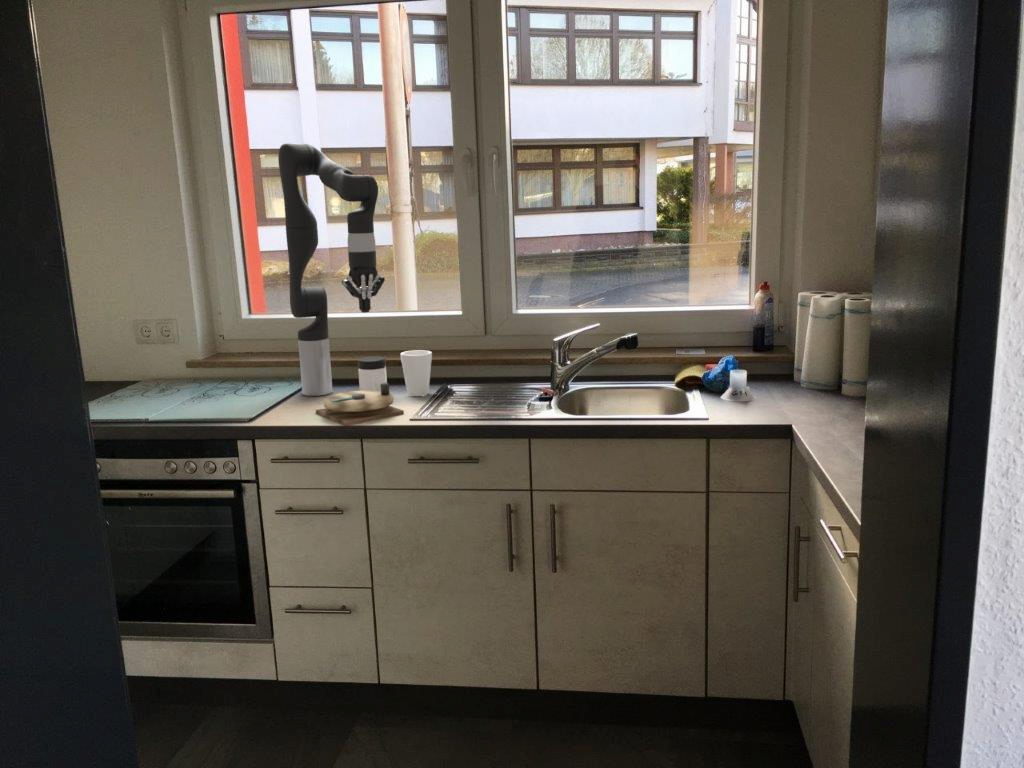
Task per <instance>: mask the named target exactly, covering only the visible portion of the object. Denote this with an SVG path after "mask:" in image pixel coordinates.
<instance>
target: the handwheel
mask: <svg viewBox="0 0 1024 768" xmlns="http://www.w3.org/2000/svg"><path fill="white" fill-rule="evenodd" d="M380 385H381V391H360V390H353V391H345V392H339V393H335V394H332V395H328V396H327V397H325V398H324V399H323V407H324V408H327V409H329V410H334V411H343V412H356V411H368V410H374V409H379V408H383V407H386V406H392V404H393V403H394V397H393V396H394V395H393V394H391V393H390V383H388V382H387V383H382V384H380Z"/></svg>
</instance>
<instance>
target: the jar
mask: <svg viewBox="0 0 1024 768" xmlns="http://www.w3.org/2000/svg"><path fill="white" fill-rule="evenodd" d="M357 364H358V365H357V366H358V370H357V371H358V383H359V384H358V385H359V391H381V385H380V384H382V383H388V380H387V379H388V378H387V376H388V375H387V366H386V365H387V361H386V357H384V356H365V357H361V358H359V359H357Z"/></svg>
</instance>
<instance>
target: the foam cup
mask: <svg viewBox="0 0 1024 768" xmlns="http://www.w3.org/2000/svg"><path fill="white" fill-rule="evenodd" d="M432 360H433V352H432V351H430V350H423V349H415V350H406V351H403V352H400V362H401V366H402V370H403V377H404V382H405V387H406V388H405V389H406V393H407V396H408V395H409V396H408V397H411V396H422V397H424V396H423V395H426V394H428V395H429V392H430V381H431V369H432V368H431V367H432ZM426 396H427V395H426Z"/></svg>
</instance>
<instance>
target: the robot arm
mask: <svg viewBox="0 0 1024 768" xmlns="http://www.w3.org/2000/svg"><path fill="white" fill-rule="evenodd" d="M278 169H279V175H280V180H281V181H280V182H281V187H282V195H283V202H284V216H285V218H284V219H285V220H284V221H285V235H286V245H287V246H286V247H287V254H288V255H287V256H288V267H289V268H288V269H289V273H288V274H289V306H290V312H291V314H292V316H293V317H294V318H296V319H303V318H314V321H313V322H311V323H310V324H309V325H307V326H305V327H302V328H300V329H299V330H298V331H297V341H298V352H299V353H298V355H299V368H300V377H301V378H300V380H301V394H302V395H303V396H307V397H315V396H316V397H318V396H324V395H325V396H327V395H329V394H332V393H333V381H332V366H331V365H332V364H331V353H330V350H331V349H330V340H329V339H330V338H329V322H328V321H329V320H328V319H329V317H328V313H329V312H328V295H327V291H326V289H325V288H324V287H323V286H320V285H319V286H317V285H316V286H303V287H302V281H303V276H304V274H305V271H306V268H307V266H308V264H309V263H310V261H311V259H312V257H313V256H314V254H315V252H316V250H317V247H318V245H319V232H318V221H317V218H316V216H315V214H314V213H313V211H312V210H311V208H310V207H309V205H308V203H307V202H306V201H305V199H304V198H303V195H302V194H301V190H300V187H299V181H298V177H307V176H318V178H319V180H320V182H321V183H322V184H323V185H324V186H326V187H327V188H328V189H330V190H332V191H334V192H336V194H337V195H338V196H339V198H340V199H342V200H343V201H345V202H351V203H353V202H358V203H359V202H360V203H359V207H358V208H357V209H355V210H352V211H349V212H348V213H347V214H346V215H347V216H346V219H347V220H346V221H347V255H348V256H347V257H348V267H349V272H348V277H346V278H345V279H343V280H341V284H342V285H343V286H344V288H345V289H346V290H347V291H348V293H349V294H350V295H351V296H352V297H354V298H356V299H358V309H359V311H360V312H361V313H363V314H365V313H370V311H371V309H372V307H371V306H372V305H371V299H372V297H375V296H377V294H378V293H379V292H380V290H381V288H382V285H383V284H384V283H385V281H386V279H385V277H384V276H381V275H379V273H378V270H377V250H376V249H377V248H376V237H375V230H374V229H375V228H374V215H375V210H376V206H377V201H378V195H379V185H378V183H377V180H376V179H375V177H374V176H372V175H369V174H354V173H353V171H352V170H350V169H349V168H347V167H345V166H342V165H341V164H339V163H337V162H334V161H333V160H331V159H330V158H329V157H328V156H327V155H325V154H324V153H323V151H321V150H320V149H318V148H317V147H315V146H314V145H313V144H309V143H299V142H298V143H294V142H291V143H289V142H288V143H287V142H286V143H283V144H281V145H280V147H279V149H278ZM353 284H354V285H355V286H354V285H353Z"/></svg>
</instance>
